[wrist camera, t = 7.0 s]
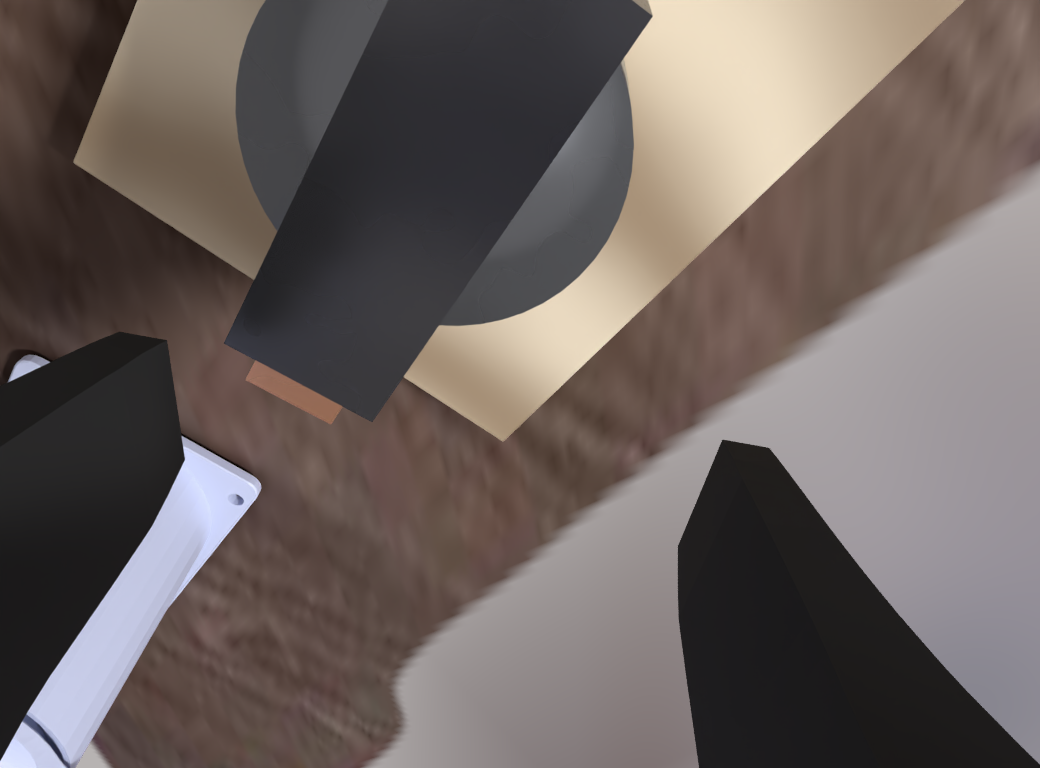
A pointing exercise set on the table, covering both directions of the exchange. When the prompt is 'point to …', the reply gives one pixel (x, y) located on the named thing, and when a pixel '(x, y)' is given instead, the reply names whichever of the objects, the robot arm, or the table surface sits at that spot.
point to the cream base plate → (653, 184)
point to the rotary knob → (422, 176)
